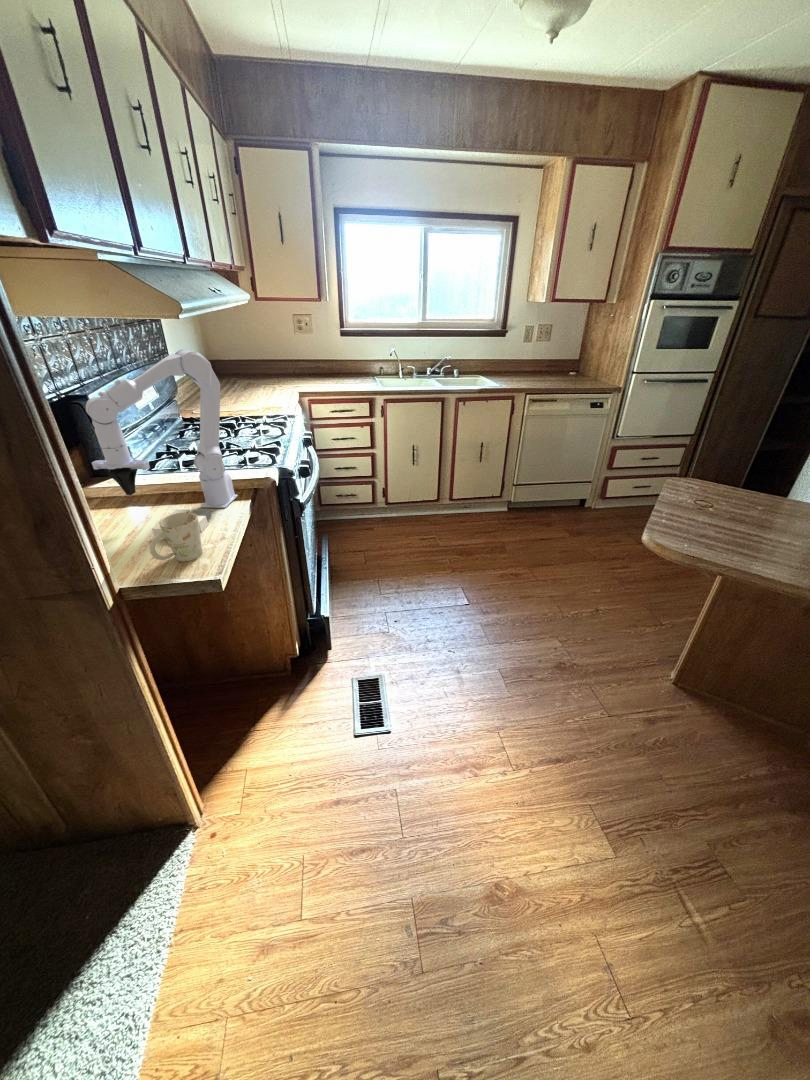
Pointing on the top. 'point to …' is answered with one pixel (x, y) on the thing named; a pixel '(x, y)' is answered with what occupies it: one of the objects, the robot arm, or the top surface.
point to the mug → (179, 537)
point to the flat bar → (200, 514)
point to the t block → (201, 519)
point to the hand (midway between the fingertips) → (131, 493)
